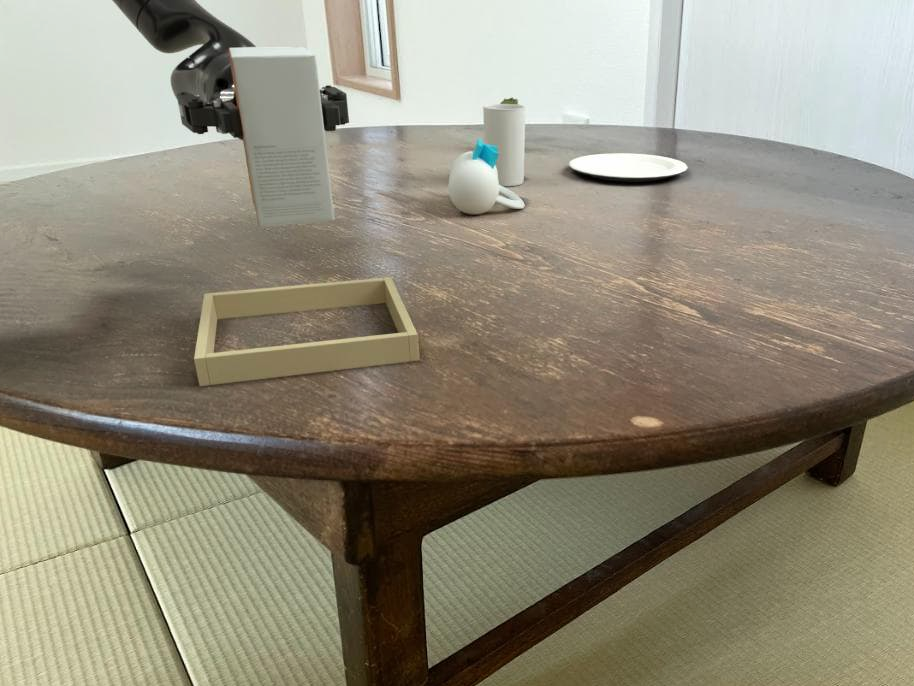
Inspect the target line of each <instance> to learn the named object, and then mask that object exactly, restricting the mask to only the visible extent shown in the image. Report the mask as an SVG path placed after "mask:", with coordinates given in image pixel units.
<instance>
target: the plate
mask: <svg viewBox="0 0 914 686" xmlns="http://www.w3.org/2000/svg"><path fill="white" fill-rule="evenodd" d="M568 167H569V169H571V170H572V171H573V172H577V173H579V174H581V175H586V176H588V177H590V178H594V179H599V180H603V181H608V182H609V181H610V182H620V183H645V182H654V181H660V180H665V179H668V178H671V177H677V176H679V175H682V174H684V173H686V171H687V170H688V165H687V164H686V162H683V161H681V160H678V159H675V158H672V157H667V156H661V155H654V154H645V153H623V152H620V153H619V152H617V153H613V152H612V153H598V154H597V153H596V154H590V155H589V154H588V155H584V156H583V155H582V156H578V157H576V158H573V159H572V160H570V161H569V162H568Z"/></svg>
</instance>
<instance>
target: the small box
mask: <svg viewBox="0 0 914 686" xmlns="http://www.w3.org/2000/svg"><path fill="white" fill-rule="evenodd" d="M229 57H230V64H231V70H232V77H233V83H234V89H235V94H236V100H237V107H238V108H239V112H240V118H241V123H242V130H243V140H242V142H243V148H244V154H245V155H244V156H245V160H246V161H245V162H246V167H247V175H248V180H249V187H250V192H251V198H252V199H251V200H252V203H253V206H254V209H255V216H256V221H257V226H258V227H259V228H271V227H273V228H274V227H282V226H295V225H296V226H297V225H309V224H310V225H311V224H320V223H321V224H322V223H331V222H334V221H335V210H334V202H333V195H332V193H333V192H332V187H331V186H332V185H331V178H330V169H329V161H328V151H327V141H326V133H325V132H326V131H325V130H324V123H323V115H322V106H321V98H320V89H321V88H320V81H319V73H318V65H317V64H318V63H317V57H316V55H315V54H314V53H313V52H312V50H311V49H308V48H307V47H304V46H256V47H240V48H229Z"/></svg>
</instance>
